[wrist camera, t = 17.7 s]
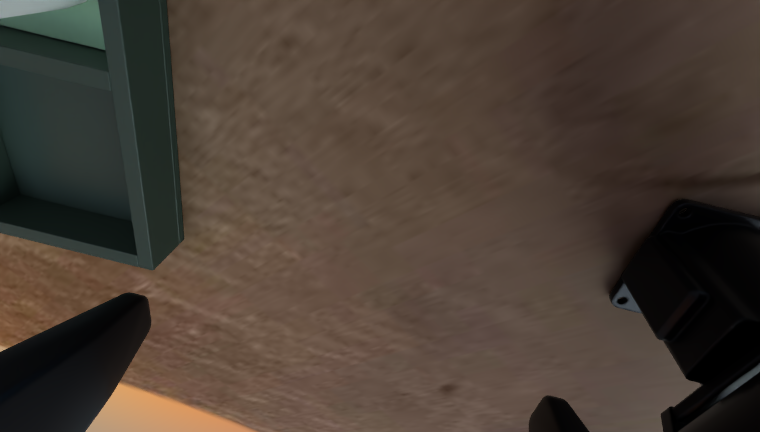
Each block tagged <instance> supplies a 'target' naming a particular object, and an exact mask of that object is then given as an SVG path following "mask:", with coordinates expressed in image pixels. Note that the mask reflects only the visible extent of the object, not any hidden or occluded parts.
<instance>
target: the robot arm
mask: <svg viewBox="0 0 760 432" xmlns="http://www.w3.org/2000/svg"><path fill="white" fill-rule="evenodd" d="M684 208H687V209H686V211H685V212H683V213H679V212H680V211H681V210H682V209H684ZM621 297H623V298H622V299H619V298H621ZM609 298H610V300H611V302H612V304H613V305H614V306H615V307H617V308H621V309H625V310H629V311H634V312H638V313H642V314H643V316H644V317H645V319H646V321H647V322H648V324H649V326H650V327H651V329H652V331H653V333H654V334H655V336H656V337H657V338H658V339H659V340H663V341H664V343H665V344H666V346H667V348H668V349H669V351H670V353H671V354H672V356H673V358H674V359H675V361H676V363H677V364H678V366H679V367H680V369H681V371H682V372H683V374H684V376H685V377H686V379H688V380H690V381H694V382H698V383H700V384H701V387H699V388H698V389H697V390H695V391H694V392H693V393H692V394H690V395H689V396H688V397H686V398H685V399H684V400H683V401H681V402H680V403H679V404H677V405H676V406H675V407H669V408H668V409H667V410H665V411H664V412H663V413H661V419H662V425H663V432H760V217H758V216H754V215H749V214H745V213H741V212H737V211H733V210H729V209H725V208H721V207H716V206H712V205H708V204H704V203H700V202H696V201H692V200H687V199H681V200H677V201H675V202H674V203H672V204H671V206H670V207H669V208H668V210H667V211H666V213H665V214H664V215H663V217H662V218H661V220H660V221H659V223H658V224H657V226H656V227H655V229H654V230H653V232H652V233H651V235H650V236H649V237H648V238H647V239H646V240H645V242H644V243H643V245H642V246H641V248H640V249H639V251H638V252H637V253H636V255H635V256H634V258H633V259H632V261H631V262H630V264H629V265H628V267H627V268H626V270H625V271H624V273H623V274H622V276H621V278H620V280H619V281H618V283H617V284H616V286H615V287H614V289H613V290H612V292H611V293H610V295H609ZM150 327H151V316H150V309H149V302H148V299H147V298H146V297H145V296H143V295H139V294H135V293H124V294H122V295H120V296H118V297H116V298H113V299H111V300H109V301H107V302H105V303H103V304H101V305H99V306H97V307H94V308H92V309H90V310H88V311H86V312H84V313H82V314H80V315H77V316H75V317H73V318H71V319H69V320H67V321H65V322H63V323H61V324H58V325H56V326H54V327H52V328H50V329H48V330H46V331H44V332H42V333H39V334H37V335H35V336H33V337H31V338H29V339H27V340H25V341H22V342H20V343H18V344H16V345H14V346H12V347H10V348H8V349H6V350H3V351H2V352H0V432H85V431H86V430H87V428H88V427H89V426H90V424H91V423H92V421H93V420H94V419H95V417H96V416H97V415H98V413H99V412H100V411H101V409H102V408H103V406H104V405H105V403H106V402H107V401H108V399H109V398H110V396H111V395H112V393H113V392H114V390H115V388H116V387H117V385H118V383H119V382H120V380H121V378H122V377H123V375H124V373H125V371H126V370H127V368H128V366H129V365H130V363H131V361H132V359H133V358H134V356H135V354H136V353H137V351H138V349H139V347H140V346H141V344H142V342H143V341H144V339H145V337H146V336H147V334H148V332H149V330H150ZM529 432H589V431H588V429H587V428H586V427H585V425H584V424H583V422H582V421H581V420H580V418H579V417H578V416H577V414H576V413H575V412H574V410H573V409H572V408H571V406H570V405H569V404H568V402H566V401H565V400H564V399H561V398H557V397H553V396H548V395H547V396H545V397H544V398H543V399H542V400H541V402H540V403H539V405H538V406H537V407H536V409H535V410H534V412H533V413H532V415H531V417H530V420H529Z"/></svg>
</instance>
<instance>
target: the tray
mask: <svg viewBox="0 0 760 432" xmlns="http://www.w3.org/2000/svg"><path fill="white" fill-rule="evenodd" d="M0 233H3V234H7V235H11V236H15V237H19V238H23V239H27V240H31V241H35V242H39V243H43V244H47V245H51V246H55V247H59V248H64V249H68V250H72V251H76V252H80V253H84V254H88V255H92V256H96V257H100V258H104V259H108V260H112V261H116V262H120V263H124V264H128V265H132V266H136V267H141V268H145V269H149V270H154V269H155V268H156V267H157V266H158V265H159V264H160V263H161V262H162V261H163V260H164V259H165V258H166V257H167V256H168V255H169V254H170V253H171V252H172V251H173V250H174V249H175V248H176V247H177V246H178V245H179V243H181V242H182V241H183V240H184V231H183V218H182V204H181V191H180V177H179V164H178V150H177V137H176V123H175V110H174V96H173V83H172V70H171V56H170V43H169V29H168V16H167V2H166V0H87V1H86V2H84V3H81V4H78V5H75V6H72V7H69V8H66V9H60V10H53V11H47V12H40V13H34V14H27V15H21V16H14V17H7V18H1V19H0Z"/></svg>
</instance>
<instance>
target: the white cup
mask: <svg viewBox="0 0 760 432" xmlns="http://www.w3.org/2000/svg"><path fill="white" fill-rule="evenodd" d="M86 1H87V0H0V19H1V18H7V17H14V16H21V15H27V14H34V13H40V12H47V11H53V10H60V9H66V8H69V7H72V6H75V5H78V4H81V3H84V2H86Z"/></svg>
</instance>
